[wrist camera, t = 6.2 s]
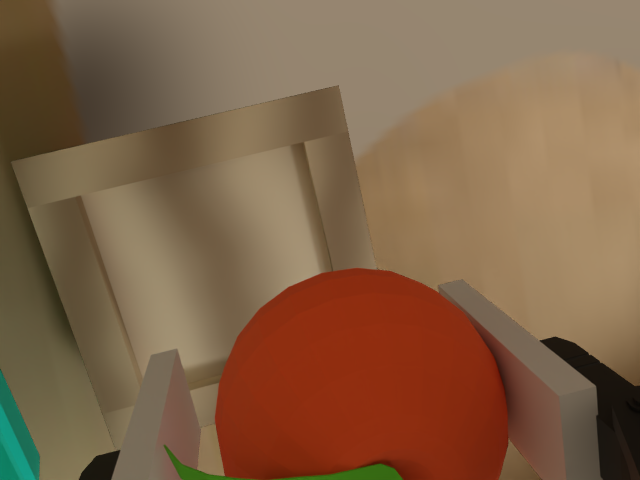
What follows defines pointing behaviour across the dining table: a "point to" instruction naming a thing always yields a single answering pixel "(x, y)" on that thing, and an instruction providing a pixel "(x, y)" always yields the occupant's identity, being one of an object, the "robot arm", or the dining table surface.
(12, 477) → the table top decor
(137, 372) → the tray
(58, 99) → the dining table surface
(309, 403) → the clementine
